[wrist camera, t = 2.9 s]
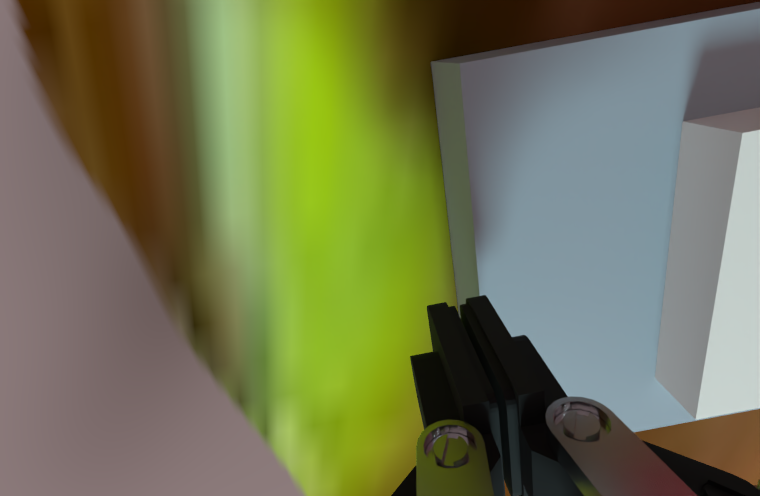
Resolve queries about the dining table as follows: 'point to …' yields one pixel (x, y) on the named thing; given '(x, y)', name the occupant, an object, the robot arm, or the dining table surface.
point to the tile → (714, 269)
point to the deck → (585, 187)
